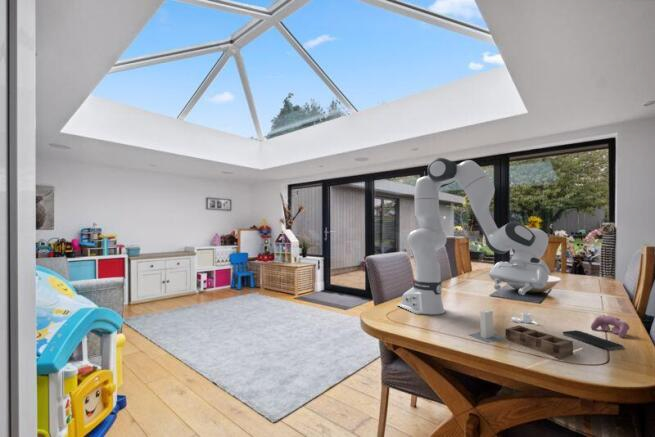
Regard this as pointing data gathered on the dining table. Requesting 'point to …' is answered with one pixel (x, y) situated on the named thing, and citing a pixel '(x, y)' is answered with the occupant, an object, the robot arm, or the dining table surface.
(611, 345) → the phone
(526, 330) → the rack
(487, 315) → the block
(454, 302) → the dining table surface
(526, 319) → the teacup and saucer
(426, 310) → the robot arm
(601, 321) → the video game controller
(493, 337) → the mat
